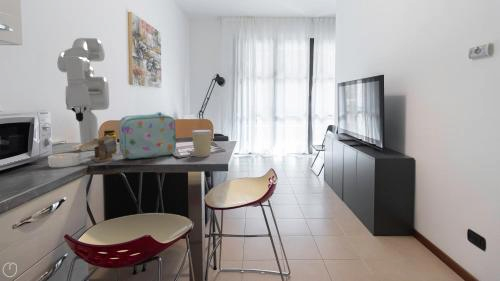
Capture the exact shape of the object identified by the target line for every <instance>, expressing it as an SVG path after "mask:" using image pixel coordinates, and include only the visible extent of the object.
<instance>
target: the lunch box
mask: <svg viewBox="0 0 500 281" xmlns="http://www.w3.org/2000/svg"><path fill="white" fill-rule="evenodd" d="M118 135H119V136H118V138H119V139H118V140H119V143H118V144H119V152H120V154H121V155H122V156H123V157H125V158H127V159H129V160H135V159H148V158H157V157H161V156H169V155H172V154H173V153H175V151H176V149H177V141H176V140H177V139H176V121H175V119H174V117H172V116H170V115H167V114H164V113H162V112H159V111H158V112H156V113H151V114H139V115H126V116H123V117H122V118H121V119H120V120H119V124H118ZM172 152H173V153H172Z"/></svg>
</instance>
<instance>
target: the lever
mask: <svg viewBox="0 0 500 281" xmlns="http://www.w3.org/2000/svg"><path fill="white" fill-rule="evenodd" d="M98 140H104V144H105V151H107V152H110V151H112V150H115V149H117V150H118V147H117V148H116V146H115V143H114V141H113V140H114V139H113V137H112V136H109V135H107V136H105V137H104V136H102V137H100V138H99V139H97V140H94V141H91V142H89V143H86V144H83V145H82V144H81V143H78V144H75V145H73V146H72V147H71V148H72V149H74V150H77V151H81V152H87V151H90V150H89V149H92V148H95V147H97V146H99V144H98Z"/></svg>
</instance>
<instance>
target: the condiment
mask: <svg viewBox="0 0 500 281" xmlns="http://www.w3.org/2000/svg"><path fill="white" fill-rule="evenodd" d="M115 132H116V131H115V130H114V129H110V130H109V129H107V130H103V137H105V136H107V135H109V136H112V137H113V139H114V140H113V141H114V143H115V146H116V148H117V149H115V150H112V151H110V152H107V151H105V153H112V155H114V154H119V153H120V154H121V152H120V151H119V152H118V147H117V145H118V144H117V136H116V133H115Z"/></svg>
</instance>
